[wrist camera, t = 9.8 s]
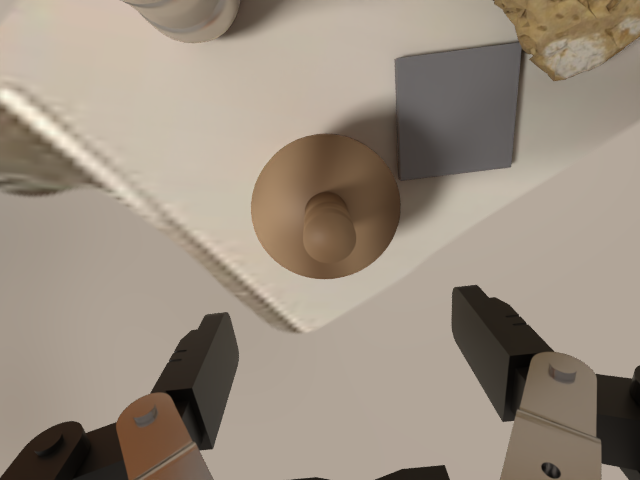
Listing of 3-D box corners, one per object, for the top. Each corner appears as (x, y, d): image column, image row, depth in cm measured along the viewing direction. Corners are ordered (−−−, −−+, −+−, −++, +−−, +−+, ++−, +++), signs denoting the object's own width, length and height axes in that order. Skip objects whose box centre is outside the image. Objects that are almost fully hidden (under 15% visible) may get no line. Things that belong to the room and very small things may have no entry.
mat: (515, 43, 25) (522, 41, 25) (505, 165, 29) (511, 167, 28) (394, 59, 26) (397, 58, 25) (398, 178, 29) (400, 180, 28)
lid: (393, 124, 23) (421, 131, 17) (398, 263, 27) (422, 307, 21) (240, 143, 23) (217, 156, 17) (267, 279, 27) (255, 326, 21)
